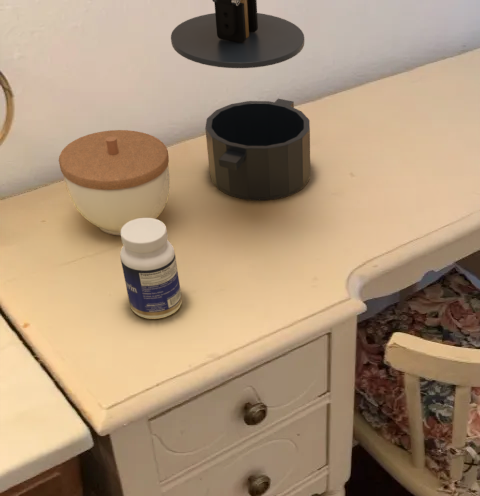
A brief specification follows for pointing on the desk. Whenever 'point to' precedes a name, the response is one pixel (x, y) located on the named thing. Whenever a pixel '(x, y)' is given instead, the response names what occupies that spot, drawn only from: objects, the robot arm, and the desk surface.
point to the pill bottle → (150, 268)
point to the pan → (259, 149)
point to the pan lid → (235, 53)
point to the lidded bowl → (116, 177)
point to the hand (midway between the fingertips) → (237, 33)
